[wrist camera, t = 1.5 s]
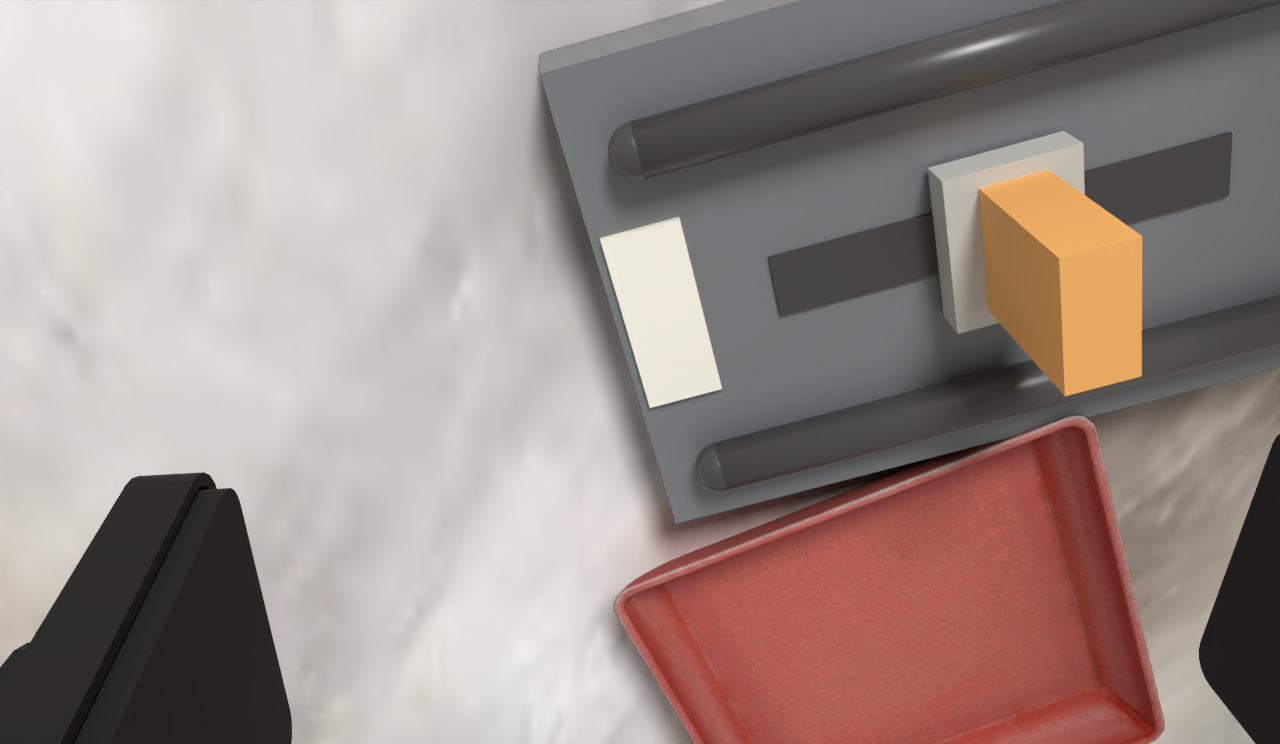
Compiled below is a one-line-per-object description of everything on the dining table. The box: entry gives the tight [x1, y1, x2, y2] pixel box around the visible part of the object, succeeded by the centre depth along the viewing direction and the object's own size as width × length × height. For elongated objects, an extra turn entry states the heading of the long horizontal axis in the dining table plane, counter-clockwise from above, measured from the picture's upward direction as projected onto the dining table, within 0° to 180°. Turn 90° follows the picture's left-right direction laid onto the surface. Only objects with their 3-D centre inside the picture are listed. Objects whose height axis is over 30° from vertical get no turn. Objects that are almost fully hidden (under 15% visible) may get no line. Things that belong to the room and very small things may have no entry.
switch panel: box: [539, 0, 1280, 524], centre depth 31 cm, size 24×16×4 cm, turn 105°
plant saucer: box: [613, 415, 1165, 744], centre depth 40 cm, size 18×18×3 cm
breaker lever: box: [928, 131, 1142, 396], centre depth 27 cm, size 4×5×6 cm
